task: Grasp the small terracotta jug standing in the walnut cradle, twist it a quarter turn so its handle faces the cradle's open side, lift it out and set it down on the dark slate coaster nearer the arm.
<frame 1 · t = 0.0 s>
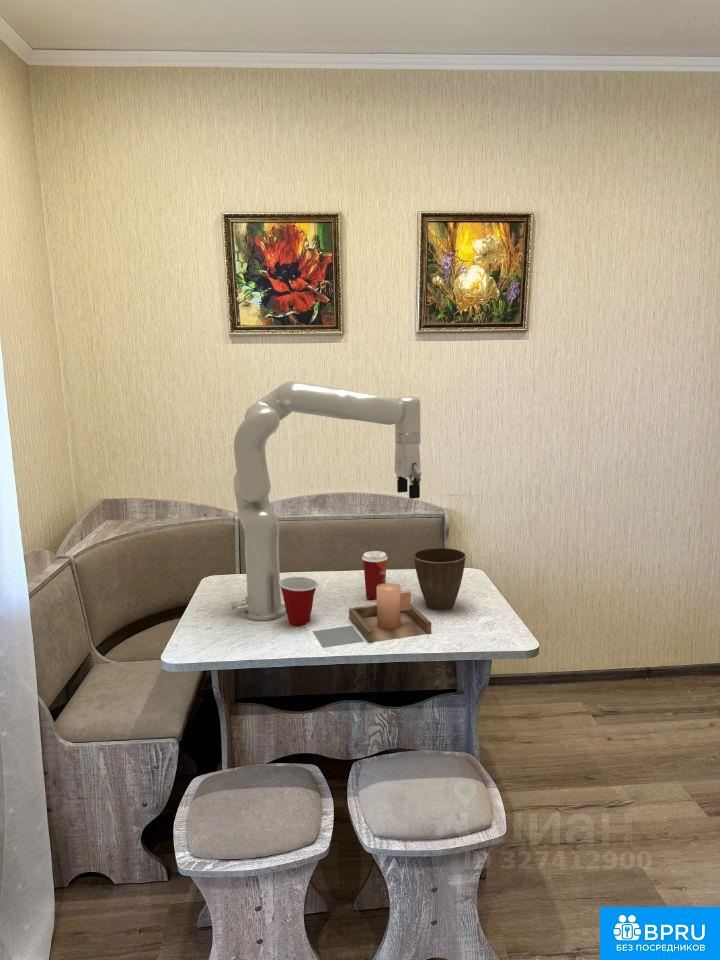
hand: (408, 495, 206), 31 cm above the table, fingers open, 9 cm apart
jug: (388, 625, 185), point 1 cm above the table, touching cradle
coaster: (337, 638, 179), on the table
plant pot: (439, 608, 199), on the table
plastic cup: (300, 623, 190), on the table
cradle: (389, 627, 185), on the table
paper cup: (375, 598, 208), on the table
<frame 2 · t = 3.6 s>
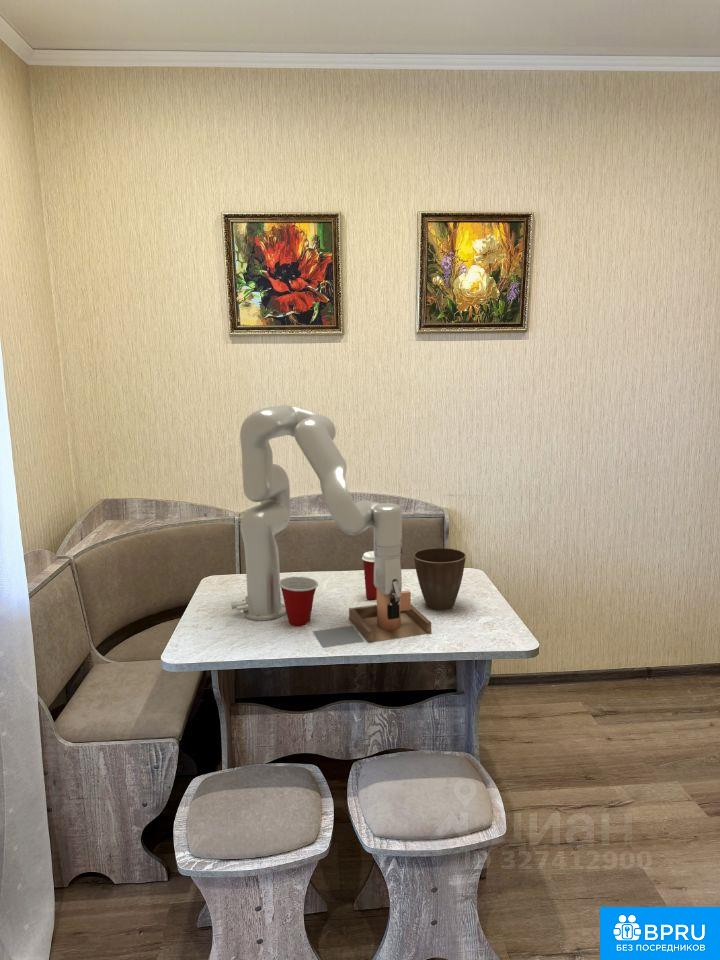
hand: (388, 613, 184), 4 cm above the table, fingers closed on jug, 6 cm apart
jug: (388, 625, 185), point 1 cm above the table, touching cradle, gripper
everything else where it was.
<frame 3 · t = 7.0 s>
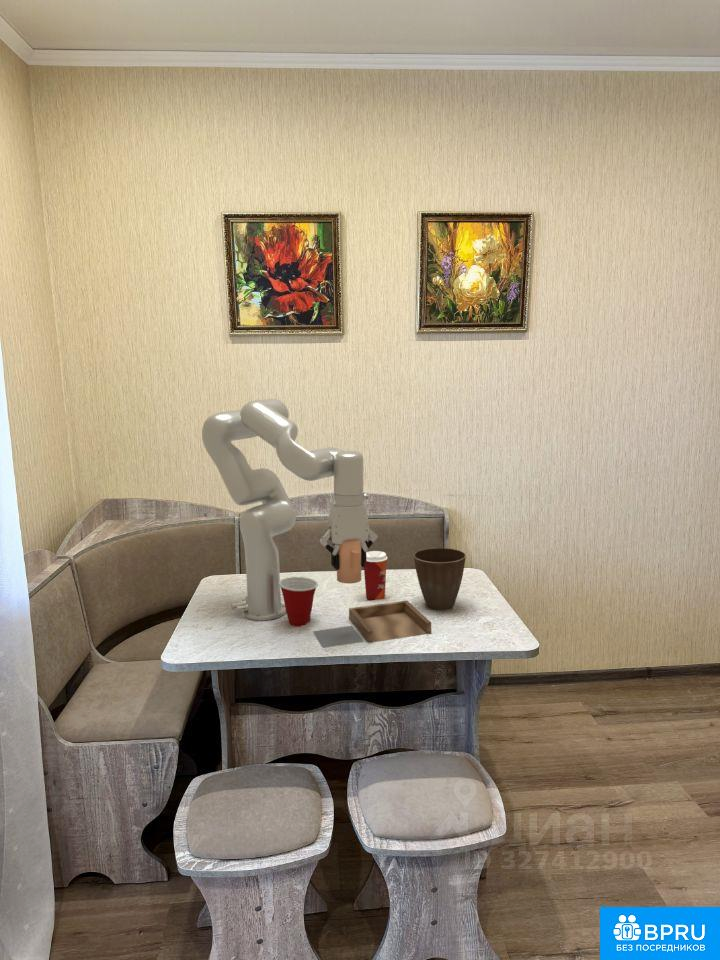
hand: (348, 566, 177), 19 cm above the table, fingers closed on jug, 6 cm apart
jug: (349, 579, 178), point 15 cm above the table, touching gripper
everything else where it was.
when the fingers open (6 cm above the table, at t = 10.4 s): jug drops 1 cm, resting on coaster.
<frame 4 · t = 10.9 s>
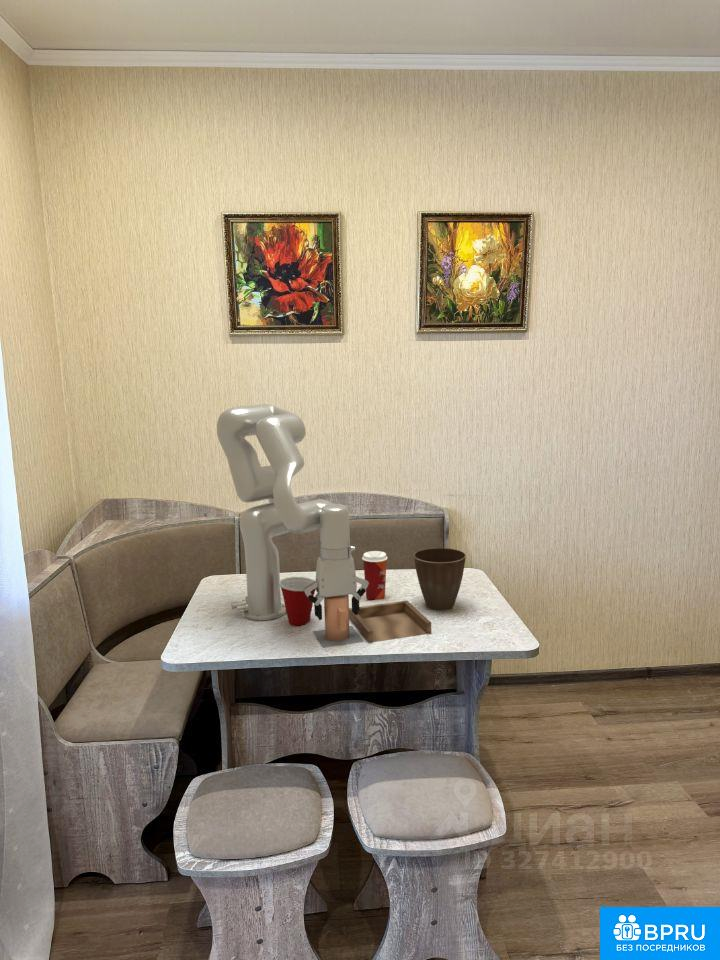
hand: (337, 615, 178), 6 cm above the table, fingers open, 9 cm apart
jug: (337, 636, 179), point 1 cm above the table, touching coaster
everything else where it was.
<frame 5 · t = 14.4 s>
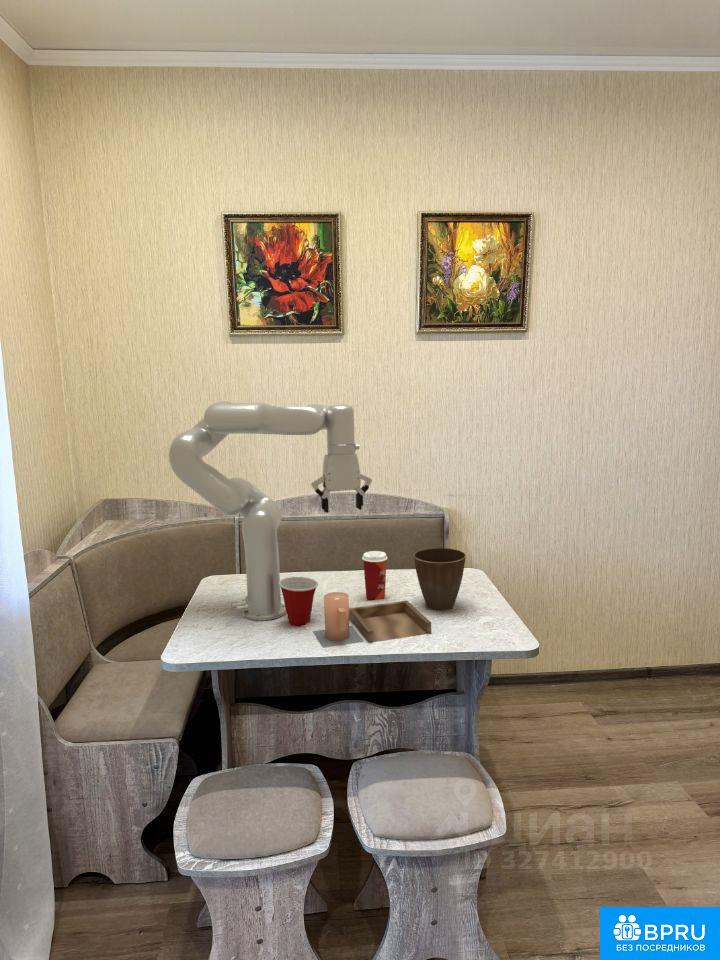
hand: (342, 510, 191), 30 cm above the table, fingers open, 9 cm apart
nothing on the table moved.
at the end: jug inside the target area on the coaster (0.1 cm from its centre), point 0.6 cm above the coaster's base; jug tilted 0°; the gripper is holding nothing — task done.
